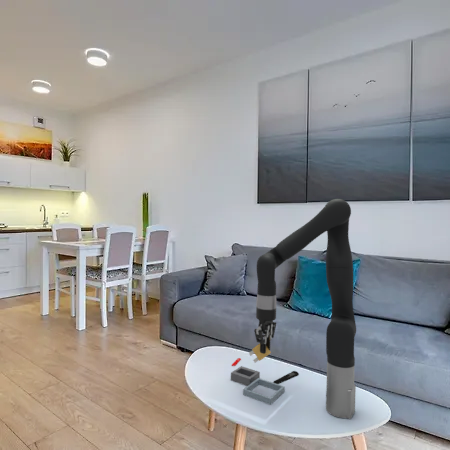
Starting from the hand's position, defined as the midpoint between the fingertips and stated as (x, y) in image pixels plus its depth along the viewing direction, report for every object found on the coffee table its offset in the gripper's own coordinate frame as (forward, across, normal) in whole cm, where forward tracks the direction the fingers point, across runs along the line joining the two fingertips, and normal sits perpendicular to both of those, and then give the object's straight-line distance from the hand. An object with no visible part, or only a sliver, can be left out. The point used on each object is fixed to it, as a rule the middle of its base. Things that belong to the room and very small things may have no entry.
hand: (265, 351), depth 128 cm
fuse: (+3, 0, +5) cm, 6 cm away
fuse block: (+18, +5, +12) cm, 22 cm away
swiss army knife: (+18, +18, +24) cm, 35 cm away
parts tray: (+17, 0, 0) cm, 17 cm away
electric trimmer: (+18, +17, -2) cm, 25 cm away
